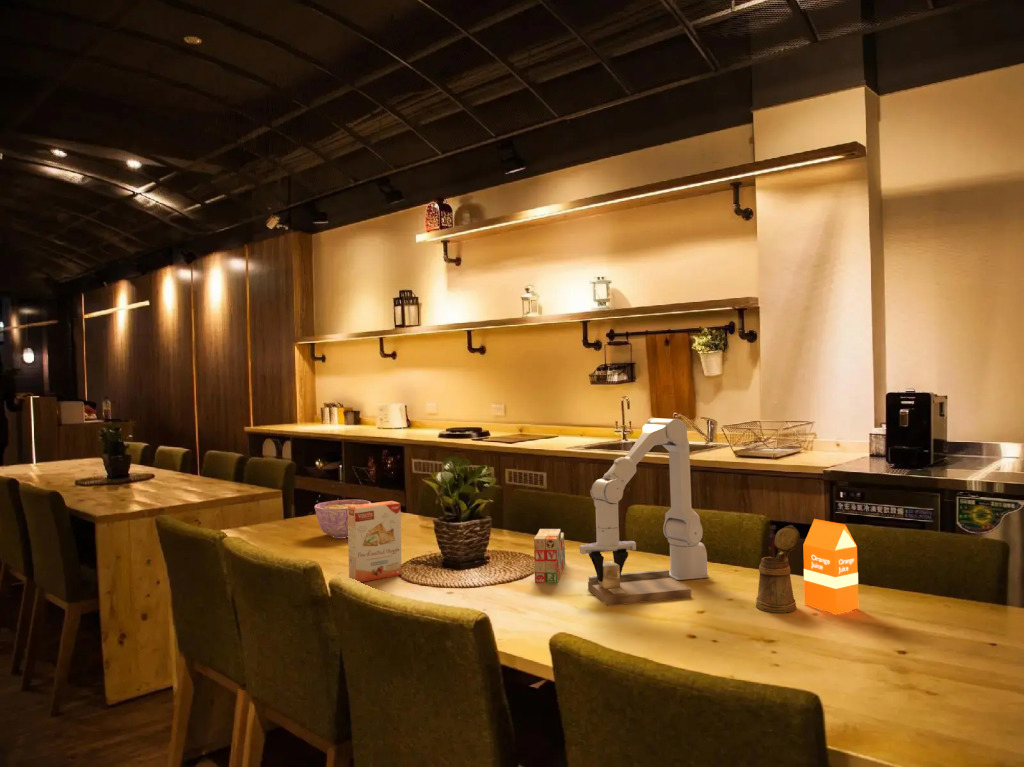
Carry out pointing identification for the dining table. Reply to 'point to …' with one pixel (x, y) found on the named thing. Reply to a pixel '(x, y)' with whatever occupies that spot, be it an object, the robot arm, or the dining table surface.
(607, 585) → the tan wooden block
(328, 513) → the bowl of food
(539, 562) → the stack of blocks
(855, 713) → the dining table surface
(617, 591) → the walnut board
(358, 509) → the cracker box
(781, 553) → the wooden mug
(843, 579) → the orange juice
